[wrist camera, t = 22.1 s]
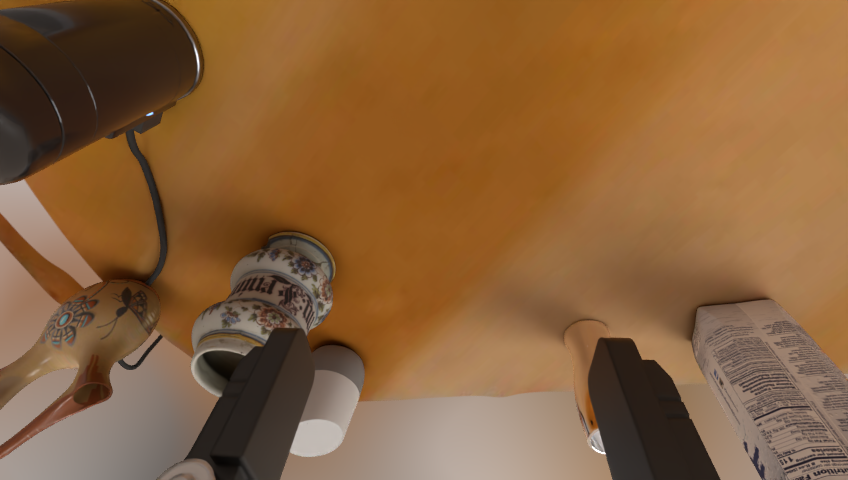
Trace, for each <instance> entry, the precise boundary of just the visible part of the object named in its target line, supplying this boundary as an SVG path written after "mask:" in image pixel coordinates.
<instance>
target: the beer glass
mask: <svg viewBox="0 0 848 480" xmlns="http://www.w3.org/2000/svg"><path fill="white" fill-rule="evenodd" d="M601 337H604V338H611V336H610V332H609V329H608V328H607V326H606V325H604V324H603V323H601V322H598V321H594V320H584V321H579V322H577V323H574V324H572V325H571V326H570V327H568V328H567V329H566V331H565V333H564V337H563V339H564V343H565V345H566V347H567V349H568V351H569V353H570V355H571V358H572V362H573V375H574V392H575V400H576V405H577V409H578V413H579V417H580V420H581V423H582V426H583V429H584V432H585V435H586V438H587V441H588V445H589V447H590V448H591V449H592V450H594V451H596V452H597V453H600V454H604V455H606V454H605V450H604V447H603V443H602V440H601V436H600V432H599V429H598V425H597V422H596V418H595V414H594V411H593V407H592V404H591V400H590V396H589V390H588V374H589V370H590V366H591V363H592V359H593V356H594V352H595V349H596V345H597V342H598V339H599V338H601Z"/></svg>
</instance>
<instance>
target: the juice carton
mask: <svg viewBox="0 0 848 480" xmlns="http://www.w3.org/2000/svg"><path fill="white" fill-rule="evenodd" d="M692 347H693V352H694V355H695V359H696V361H697V363H698V365H699V367H700V369H701V371H702V373H703V375H704V377H705V378H706V380H707V382H708V384H709V386H710V387H711V389H712V391H713V393H714V395H715V396H716V398H717V400H718V402H719V403H720V405H721V407H722V409H723V411H724V412H725V414H726V416H727V418H728V420H729V421H730V423H731V425H732V427H733V429H734V430H735V432H736V434H737V436H738V437H739V439H740V441H741V443H742V445H743V446H744V448H745V450H746V452H747V453H748V455H749V457H750V459H751V461H752V462H753V464H754V466H755V467H756V470H757V471H758V473H759V475H760V477H761V478H762V480H848V379H847V377H846V376H845V375H844V374H843V373H842V372H841V371H840V370H839V368H838V367H837V366H836V365H835V364H834V363H833V362H832V361H831V359H830V358H829V357H828V356H827V355H826V354H825V353H824V352H823V350H822V349H821V348H820V347H819V346H818V345H817V344H816V343H815V341H814V340H813V339H812V338H811V337H810V336H809V335H808V334H807V333H806V331H805V330H804V329H803V328H802V327H801V326H800V325H799V324H798V323H797V322H796V321H795V320H794V319H793V318H792V317H791V316H790V315H789V314H788V313H787V312H786V311H785V310H784V309H783V308H782V307H781V306H780V305H779V304H777V303H776V302H775V301H774V300H758V301H750V302H743V303H735V304H724V305H711V306H703V307H699V308H698V309H697V314H696V322H695V328H694V333H693V337H692Z"/></svg>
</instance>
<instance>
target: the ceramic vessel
mask: <svg viewBox="0 0 848 480" xmlns="http://www.w3.org/2000/svg"><path fill="white" fill-rule="evenodd" d="M160 313H161V303H160V299H159V296H158V294H157V293H156V291H155V290H154V289H153V288H152V287H151V286H149V285H147V284H145V282H142V281H139V280H135V279H113V280H108V281H103V282H100V283H97V284H94V285H92V286H89V287H87V288H85V289H83V290H81V291H79V292H78V293H76V294H74V295H73V296H71V297H70V298H69V299H67V300H66V301H65V302H64V303H63V304H62V305H61V306H60V307H59V308H58V309H57V310H56V311H55V312H54V313H53V315H52V316H51V317H50V319H49V321H48V322H47V324H46V326H45V328H44V330H43V332H42V334H41V336H40V338H39V339H38V341H37V342H36V344H35V345H34V346H33V347H32V348H31V349H30V350H29V351H27V352H26V353H25V354H24V355H23V356H22V357H20V358H19V359H18V360H16V361H15V362H13V363H11V364H10V365H8V366H6V367H4V368H2V369H0V410H1V409H2V407H4V405H5V404H6V403H7V402H8V401H9V400H11V399H12V398H13V397H14V396H15V395H16V394H17V393H18V392H19V391H21V390H22V389H23V388H24V387H25V386H27V385H28V384H30V383H31V382H33V381H34V380H36V379H37V378H39V377H41V376H43V375H45V374H47V373H50V372H52V371H55V370H59V369H65V368H70V369H78V372H77V375H76V377H75V379H74V381H73V383H72V384H71V386H70V387H69V388H68V389H67V390H66V391H65V392H64V393H63V394H62V395H61V396H60V397H59V398H58V399H57V400H56V401H55V402H53V403H52V404H51V405H50V406H49V407H48V408H47V409H45V410H44V411H43V412H42V413H41V414H40V415H39V416H37V417H36V418H35V419H34V420H33V421H32V422H30V423H29V424H28V425H27V426H25V428H23V429H22V430H21V431H19V432H18V433H17V434H16V435H14V436H13V437H12V438H11V439H9V440H8V441H6V442H5V443H4V444H2V445H1V446H0V459H2V458H3V457H5V456H6V455H8V454H9V453H11V452H12V451H13V450H15V449H16V448H17V447H19V446H20V445H22V444H23V443H24V442H26V441H27V440H29V439H30V438H32V437H33V436H34V435H36V434H38V433H39V432H41V431H43V430H44V429H46V428H48V427H49V426H51V425H53V424H55V423H57V422H59V421H61V420H63V419H65V418H67V417H69V416H71V415H73V414H76V413H78V412H81V411H83V410H85V409H87V408H89V407H91V406H93V405H95V404H98V403H101V402H104V401H106V400H108V399H109V398H110V397H111V395H112V392H113V391H112V386H111V383H110V379H109V374H110V370H111V367H112V366H113V364H114V363H115V362H117V361H119V360H121V359H123V358H125V357H126V356H128V355H129V354H131V353H132V352H134V351H135V350H136V349H137V348H138V347H140V346H141V345H142V344H143V343H144V342H145V341H146V339H147V338H148V337H149V336H150V335H151V333H152V332H153V330H154V329H155V327H156V325H157V323H158V320H159V317H160Z"/></svg>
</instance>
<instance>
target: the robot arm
mask: <svg viewBox="0 0 848 480" xmlns="http://www.w3.org/2000/svg"><path fill="white" fill-rule="evenodd" d="M203 70H204V62H203V54H202V50H201V47H200V44H199V42H198V39H197V37H196V35H195V33H194V32H193V30H192V28H191V27H190V25H189V24H188V23H187V21H186V20H185V19H184V18H183V17H182V16H181V15H180V14H179V13H178V12H177V11H176V10H175V9H174V8H173V7H172V6H170V5H169V4H168V3H166V2H165V1H163V0H71V1H63V2H55V3H48V4H40V5H32V6H25V7H17V8H9V9H2V10H0V185H5V184H10V183H14V182H18V181H21V180H23V179H25V178H28V177H30V176H32V175H34V174H35V173H37V172H39V171H41V170H43V169H45V168H47V167H49V166H50V165H52V164H54V163H56V162H58V161H60V160H62V159H64V158H66V157H68V156H70V155H71V154H73V153H75V152H77V151H79V150H81V149H83V148H84V147H86V146H88V145H90V144H92V143H94V142H96V141H98V140H100V139H102V138H104V137H105V138H108V139H113V138H115V137H117V136H119V135H121V134H123V133H125V132H126V137H127V141H128V144H129V147H130V149H131V151H132V153H133V154H134V156H135V157H136V158H137V159H138V161H139V163H140V165H141V167H142V170H143V172H144V175H145V178H146V181H147V183H148V186H149V190H150V193H151V197H152V200H153V204H154V209H155V214H156V219H157V224H158V230H159V236H160V246H161V249H160V258H159V262H158V265H157V267H156V269H155V271H154V272H153V274H152V275H151V276H150V278H149V279H148V280H147V281H146V282H145V284H147V285H149V286H150V285H151V284H152V283H153V282H154V280H155V279H156V278H157V277H158V275H159V274H160V272H161V270H162V268H163V266H164V262H165V259H166V253H167V238H166V231H165V225H164V220H163V214H162V209H161V204H160V200H159V196H158V192H157V189H156V185H155V182H154V179H153V176H152V173H151V171H150V168H149V166H148V163H147V161H146V159H145V157H144V156H143V155H142V153H141V152H140V150H139V148H138V146H137V143H136V139H135V135H134V131H136V132H138V133H140V134H142V133H143V132H145V131H147V130H149V129H150V128H152V127H154V126H156V125H157V124H159V123H160V121H161V117H162V114H163V112H164V111H166V110H167V109H169V108H171V107H173V106H175V105H176V101H177V100H179V99H181V98H184V97H185V96H187V95H189V94H191V93H192V92H193V91H194V90H195V89H196V88H197V87H198V85H199V84H200V82H201V79H202V76H203ZM162 338H163V336H162V335H161V334H160V335H159V336H158V338H157V339H156V340H155V341H154V342H153V343H152V345H150V347H149V348H148V349H147V350H146V351H145V352H144V354H143V355H142V357H141V358H140V359H139V361H138V362H137V363H136V364H135V365H132V366H131V365H128V364H126V363H125V362H124V361H123V359H121V360H119V361H118V363H119V364H120V365H121V366H122V367H123V368H125V369H127V370H133V369H136V368H137V367H139V366H140V365H141V363H142V362H143V361H144V359H145V358H146V357H147V355H148V354H149V353H150V352H151V350H152V349H153V348H154V347H155V346H156V345H157V343H158V342H159V341H160V340H161V339H162ZM314 378H315V363H314V359H313V356H312V353H311V349H310V346H309V343H308V340H307V336H306V333H305V331H304V329H303V328H280V327H276V328H274V329H273V330H272V332H271V333H270V335H269V337H268V339H267V341H266V343H265V345H264V346H255V347H254V348H253V349H252V350H250V351H249V352H248V353H247V354H246V355H245V356H244V357H243V358H242V359H241V360H240V361H239V363H238V365H237V367H236V368H235V370H234V372H233V374H232V376H231V378H230V382H228V383H227V385H226V387H225V389H224V390H223V392H222V396H220V398H219V400H218V401H217V403H216V405H215V407H214V409H213V411H212V412H211V414H210V416H209V418H208V420H207V421H206V423H205V425H204V427H203V429H202V431H201V433H200V434H199V436H198V438H197V440H196V442H195V443H194V445H193V447H192V449H191V451H190V452H189V454H188V455H187V457H186V458H185V459H184V461H181V462H179V463H176V464H175V465H173V466H172V467H170V468H168V469H167V470H166V471H164V472H163V473H162V474H161V475H160V476H159V477H158V478H157V479H156V480H280V477H281V474H282V471H283V469H284V466H285V463H286V460H287V457H288V455H289V452H290V449H291V446H292V443H293V440H294V437H295V435H296V432H297V429H298V426H299V423H300V420H301V417H302V414H303V412H304V409H305V406H306V403H307V400H308V397H309V394H310V392H311V389H312V386H313V382H314ZM588 390H589V396H590V400H591V404H592V407H593V411H594V414H595V418H596V422H597V425H598V429H599V432H600V436H601V440H602V443H603V447H604V450H605V454H606V457H607V461H608V464H609V468H610V472H611V475H612V479H613V480H720V478H719V476H718V474H717V471H716V469H715V467H714V465H713V463H712V461H711V459H710V457H709V455H708V453H707V451H706V449H705V447H704V445H703V442H702V441H701V438H700V436H699V434H698V432H697V430H696V428H695V426H694V424H693V422H692V420H691V419H690V418H689V413H688V411H687V409H686V407H685V405H684V403H683V402H681V397H680V395H679V393H678V391H677V389H676V386H675V384H674V382H673V380H672V378H671V377H670V376H669V375H668V374H667V373H666V372H665V371H664V370H663V369H662V368H661V366H660V365H659V364H658V363H657V362H656V361H655V360H642V359H641V356H640V354H639V352H638V350H637V347H636V345H635V343H634V341H633V340H632V339H630V338H604V337H601V338H599V339H598V342H597V345H596V349H595V352H594V356H593V359H592V363H591V366H590V370H589V374H588Z"/></svg>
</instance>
